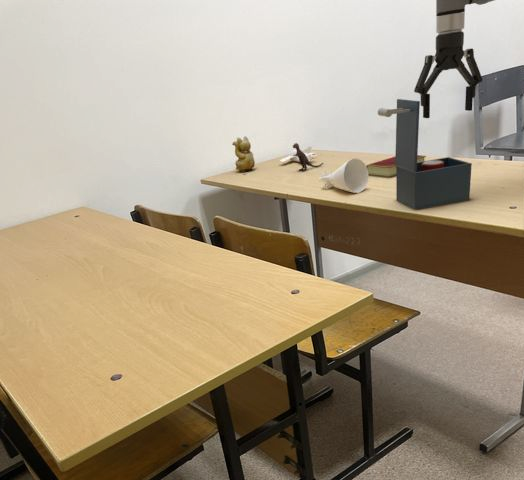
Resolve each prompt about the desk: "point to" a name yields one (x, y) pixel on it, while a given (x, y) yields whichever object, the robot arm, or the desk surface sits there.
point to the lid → (405, 132)
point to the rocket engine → (348, 176)
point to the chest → (434, 184)
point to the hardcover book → (386, 167)
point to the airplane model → (295, 158)
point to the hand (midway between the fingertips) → (447, 114)
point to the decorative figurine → (243, 155)
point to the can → (432, 165)
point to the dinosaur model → (303, 158)
